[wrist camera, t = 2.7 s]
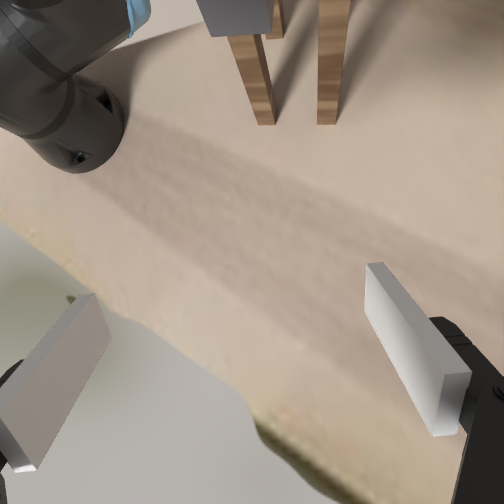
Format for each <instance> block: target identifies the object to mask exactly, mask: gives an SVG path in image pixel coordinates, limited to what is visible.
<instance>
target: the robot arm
mask: <svg viewBox="0 0 504 504" xmlns="http://www.w3.org/2000/svg"><path fill="white" fill-rule="evenodd" d="M150 14H151V5H150V1H149V0H0V127H1V128H3V129H5V130H7V131H9V132H11V133H13V134H15V135H17V136H19V137H21V138H23V139H24V140H25V141H26V142H27V143H28V144H29V145H30V146H31V147H32V148H33V149H34V150H35V151H36V152H37V153H38V154H39V155H40V156H41V157H42V158H43V159H44V160H45V161H46V162H48V163H49V164H51V165H52V166H54V167H56V168H59V169H61V170H63V171H66V172H69V173H84V172H88V171H91V170H93V169H96V168H97V167H99V166H101V165H102V164H103V163H104V162H106V161H107V160H108V159H109V158H110V157H111V155H112V154H113V153H114V151H115V150H116V148H117V146H118V144H119V142H120V139H121V136H122V132H123V125H124V120H123V113H122V109H121V106H120V104H119V102H118V101H117V99H116V98H115V97H114V95H113V94H111V93H110V92H109V91H108V90H107V89H106V88H105V87H104V86H103V85H101V84H100V83H98V82H97V81H95V80H92V79H90V78H88V77H85V76H83V75H80V74H78V73H77V72H78V71H80V70H81V69H83V68H84V67H86V66H87V65H89V64H90V63H92V62H93V61H95V60H96V59H98V58H99V57H101V56H102V55H104V54H105V53H107V52H108V51H110V50H111V49H113V48H114V47H116V46H117V45H118V44H120V43H121V42H123V41H124V40H126V39H127V38H130V37H131V36H132V35H133V34H134V32H135V31H136V30H137V29H139V28H140V27H141V26H142V25H143V24H144V23H146V22H147V21H148V19H149V17H150ZM364 312H365V314H366V316H367V317H368V319H369V321H370V323H371V325H372V327H373V328H374V330H375V332H376V334H377V336H378V338H379V340H380V341H381V343H382V345H383V347H384V349H385V351H386V352H387V354H388V356H389V358H390V360H391V362H392V364H393V365H394V367H395V369H396V371H397V373H398V375H399V376H400V378H401V380H402V382H403V384H404V386H405V388H406V389H407V391H408V393H409V395H410V397H411V399H412V400H413V402H414V404H415V406H416V408H417V410H418V412H419V413H420V415H421V417H422V419H423V421H424V423H425V425H426V426H427V428H428V430H429V432H430V434H431V436H432V437H434V436H446V435H456V434H457V430H458V426H459V422H460V424H461V425H462V427H463V428H464V430H465V431H466V433H467V434H468V435H467V439H466V442H465V446H464V450H463V453H462V459H461V463H460V468H459V472H458V476H457V480H456V484H455V488H454V493H453V497H452V501H451V504H504V376H502V375H501V374H500V373H499V372H498V370H497V369H496V368H495V367H494V366H493V365H492V364H491V363H490V362H489V361H488V359H487V358H486V357H485V356H484V355H483V354H482V353H481V352H480V351H479V350H478V348H477V347H476V346H475V345H473V344H472V342H471V341H470V340H469V339H468V338H467V336H466V337H465V334H464V333H463V332H462V331H461V330H460V329H459V328H458V327H457V325H456V324H454V323H452V322H451V321H449V320H447V319H446V318H444V317H432V318H428V317H427V316H426V314H425V313H424V312H423V311H422V309H421V308H420V307H419V306H418V305H417V303H416V302H415V301H414V300H413V298H412V297H411V296H410V295H409V294H408V292H407V291H406V290H405V289H404V287H403V286H402V285H401V284H400V282H399V281H398V280H397V279H396V278H395V276H394V275H393V274H392V273H391V271H390V270H389V269H388V268H387V267H386V265H385V264H384V263H383V262H379V263H369V264H366V284H365V307H364ZM111 338H112V336H111V333H110V331H109V328H108V326H107V323H106V321H105V318H104V316H103V314H102V311H101V308H100V306H99V303H98V301H97V298H96V296H95V293H93V294H84V295H79V296H78V297H77V298H76V300H75V301H74V302H73V303H72V304H71V305H70V307H69V308H68V309H67V310H66V311H65V313H64V314H63V315H62V316H61V317H60V319H59V320H58V321H57V322H56V323H55V324H54V325H53V327H52V328H51V329H50V330H49V331H48V332H47V334H46V335H45V336H44V337H43V339H42V340H41V341H40V342H39V343H38V344H37V345H36V347H35V348H34V349H33V350H32V351H31V353H30V354H29V355H28V356H27V357H26V358H25V359H24V360H20V361H19V362H17V363H16V364H15V365H13V366H12V367H11V368H9V369H8V370H7V371H6V372H5V374H4V375H3V376H2V377H1V378H0V472H1V470H2V469H3V467H4V466H5V464H6V463H7V462H8V464H9V465H10V466H11V467H12V469H13V470H14V471H15V472H25V471H37V469H38V468H39V466H40V464H41V462H42V460H43V459H44V457H45V455H46V454H47V452H48V450H49V448H50V446H51V445H52V443H53V441H54V439H55V438H56V436H57V434H58V432H59V430H60V429H61V427H62V425H63V423H64V422H65V420H66V418H67V416H68V415H69V413H70V411H71V409H72V407H73V406H74V404H75V402H76V400H77V398H78V397H79V395H80V393H81V392H82V390H83V388H84V386H85V384H86V382H87V381H88V379H89V377H90V375H91V374H92V372H93V370H94V368H95V367H96V365H97V363H98V361H99V360H100V358H101V356H102V354H103V353H104V351H105V349H106V347H107V345H108V343H109V342H110V340H111ZM0 504H7V496H6V489H5V481H4V478H3V476H2V474H1V473H0Z"/></svg>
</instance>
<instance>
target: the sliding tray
mask: <svg viewBox="0 0 504 504" xmlns="http://www.w3.org/2000/svg"><path fill="white" fill-rule="evenodd" d="M196 1H197V3H198V6H199V8H200V11H201V13H202V16H203V18H204V20H205V23H206V25H207V28H208V30H209V32H210V35H211V37H221V36H236V35H251V34H266V33H272V25H273V14H274V4H275V0H196Z"/></svg>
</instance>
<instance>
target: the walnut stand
mask: <svg viewBox="0 0 504 504" xmlns="http://www.w3.org/2000/svg"><path fill="white" fill-rule="evenodd" d="M350 4H351V0H319V25H318V105H317V125H329V124H336V116H337V108H338V100H339V92H340V84H341V76H342V68H343V60H344V52H345V44H346V36H347V28H348V20H349V12H350ZM283 32H284V15H283V7H282V0H275V4H274V14H273V25H272V33H266V39H278V38H283ZM227 38H228V40H229V43H230V46H231V49H232V52H233V55H234V57H235V60H236V63H237V66H238V69H239V72H240V74H241V77H242V80H243V83H244V86H245V89H246V91H247V94H248V97H249V100H250V103H251V106H252V108H253V111H254V114H255V117H256V120H257V123H258V125H275V122H276V111H277V108H276V103H275V98H274V94H273V89H272V85H271V80H270V75H269V71H268V66H267V62H266V57H265V52H264V48H263V43H262V39H261V34H251V35H236V36H227Z"/></svg>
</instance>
